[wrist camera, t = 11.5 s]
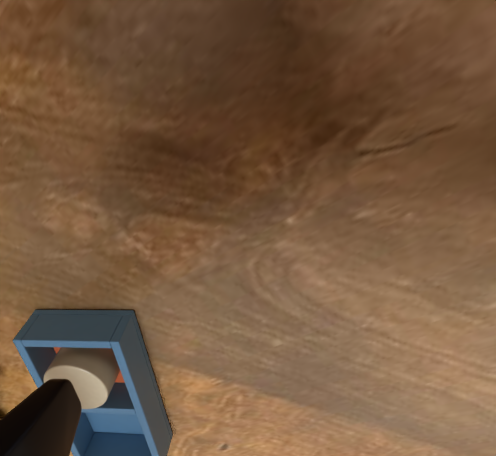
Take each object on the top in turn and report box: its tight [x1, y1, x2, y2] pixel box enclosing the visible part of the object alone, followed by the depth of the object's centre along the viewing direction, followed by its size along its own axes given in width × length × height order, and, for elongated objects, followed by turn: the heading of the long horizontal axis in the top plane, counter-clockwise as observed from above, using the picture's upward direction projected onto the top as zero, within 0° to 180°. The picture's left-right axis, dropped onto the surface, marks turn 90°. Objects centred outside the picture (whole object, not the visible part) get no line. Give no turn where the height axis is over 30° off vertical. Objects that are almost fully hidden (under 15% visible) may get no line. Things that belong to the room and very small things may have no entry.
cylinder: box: [44, 347, 120, 409], centre depth 25 cm, size 4×4×2 cm
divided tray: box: [13, 310, 173, 456], centre depth 27 cm, size 6×12×2 cm, turn 6°
